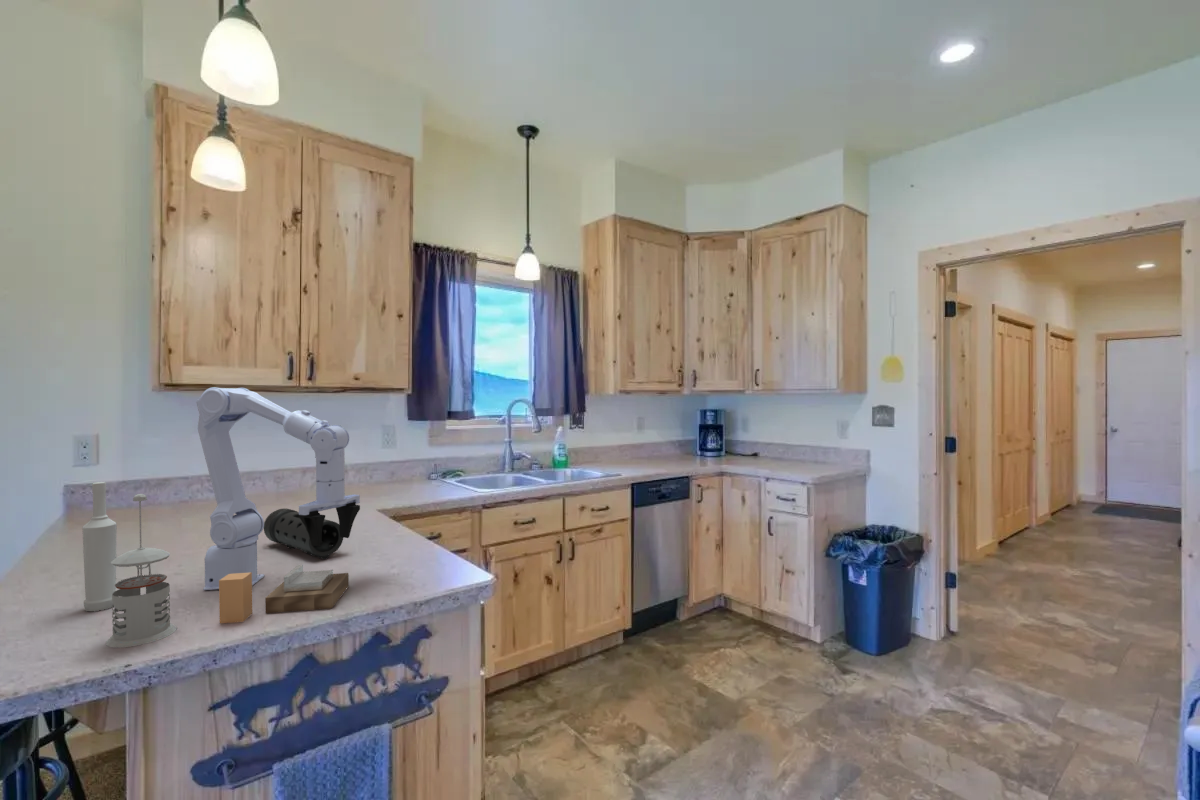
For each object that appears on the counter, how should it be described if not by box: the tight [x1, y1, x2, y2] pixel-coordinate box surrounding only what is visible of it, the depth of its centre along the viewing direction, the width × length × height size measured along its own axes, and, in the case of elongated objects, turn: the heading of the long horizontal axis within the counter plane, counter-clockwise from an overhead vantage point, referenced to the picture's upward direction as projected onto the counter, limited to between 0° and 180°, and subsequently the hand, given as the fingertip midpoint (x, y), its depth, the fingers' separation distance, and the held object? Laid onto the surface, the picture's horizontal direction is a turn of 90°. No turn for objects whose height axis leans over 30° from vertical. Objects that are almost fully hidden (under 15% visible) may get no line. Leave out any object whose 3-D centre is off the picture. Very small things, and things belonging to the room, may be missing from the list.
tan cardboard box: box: [218, 572, 253, 624], centre depth 106 cm, size 4×4×8 cm
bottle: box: [81, 481, 118, 612], centre depth 113 cm, size 5×5×25 cm
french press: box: [105, 493, 178, 648], centre depth 100 cm, size 10×12×25 cm
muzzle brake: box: [263, 507, 344, 560], centre depth 153 cm, size 10×28×10 cm, turn 53°
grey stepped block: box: [283, 564, 334, 592], centre depth 116 cm, size 7×8×3 cm
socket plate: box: [264, 572, 350, 614], centre depth 116 cm, size 12×13×3 cm
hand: (330, 541), depth 125 cm, fingers open, 7 cm apart
